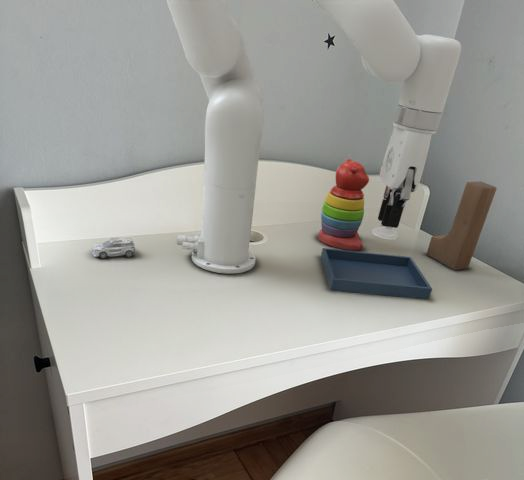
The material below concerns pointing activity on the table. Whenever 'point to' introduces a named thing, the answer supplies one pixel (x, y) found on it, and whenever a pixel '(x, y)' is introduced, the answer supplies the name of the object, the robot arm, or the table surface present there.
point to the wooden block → (464, 227)
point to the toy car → (114, 248)
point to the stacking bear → (344, 208)
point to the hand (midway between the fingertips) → (387, 222)
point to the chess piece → (385, 230)
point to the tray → (374, 274)
